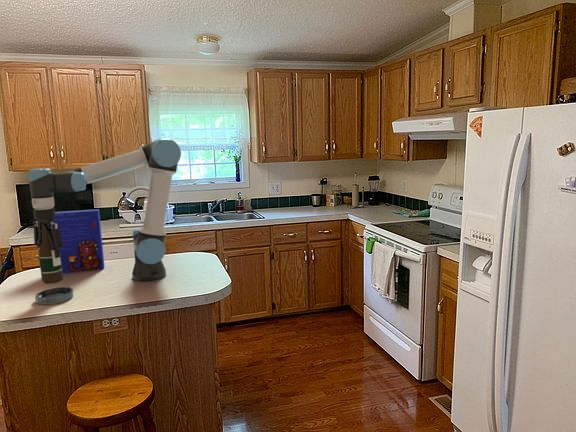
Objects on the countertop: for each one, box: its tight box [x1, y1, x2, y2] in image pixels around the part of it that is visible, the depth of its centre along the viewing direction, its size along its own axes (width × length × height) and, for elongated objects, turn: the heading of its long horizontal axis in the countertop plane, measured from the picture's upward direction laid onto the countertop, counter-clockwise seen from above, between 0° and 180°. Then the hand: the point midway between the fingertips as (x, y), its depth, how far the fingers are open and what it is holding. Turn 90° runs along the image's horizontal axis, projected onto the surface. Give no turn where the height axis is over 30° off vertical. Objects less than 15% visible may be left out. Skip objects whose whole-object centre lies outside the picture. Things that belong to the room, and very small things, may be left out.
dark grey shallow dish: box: [34, 286, 74, 306], centre depth 173 cm, size 13×13×3 cm
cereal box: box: [53, 208, 105, 275], centre depth 210 cm, size 22×6×30 cm, turn 109°
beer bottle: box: [38, 224, 64, 285], centre depth 169 cm, size 8×8×24 cm
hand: (50, 264), depth 170 cm, fingers closed on beer bottle, 8 cm apart
